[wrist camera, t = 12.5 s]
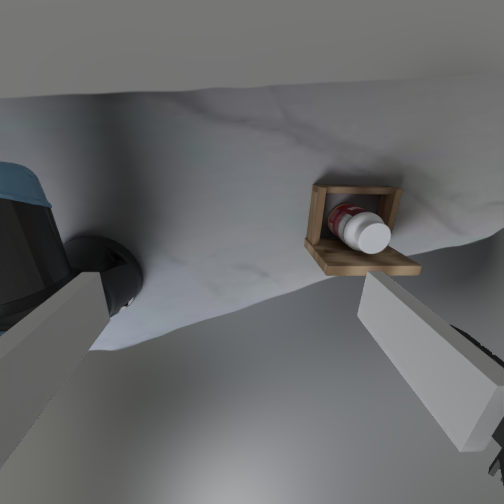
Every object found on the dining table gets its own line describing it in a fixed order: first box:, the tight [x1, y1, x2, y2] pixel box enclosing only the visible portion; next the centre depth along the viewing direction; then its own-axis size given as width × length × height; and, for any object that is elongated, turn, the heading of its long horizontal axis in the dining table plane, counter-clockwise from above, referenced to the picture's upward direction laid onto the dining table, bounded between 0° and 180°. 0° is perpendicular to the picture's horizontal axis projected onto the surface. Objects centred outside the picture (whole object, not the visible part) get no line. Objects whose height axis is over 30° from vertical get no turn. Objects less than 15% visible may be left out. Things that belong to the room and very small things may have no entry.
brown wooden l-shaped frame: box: [304, 184, 422, 276], centre depth 39 cm, size 14×11×12 cm
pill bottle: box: [328, 204, 391, 254], centre depth 39 cm, size 6×6×11 cm
